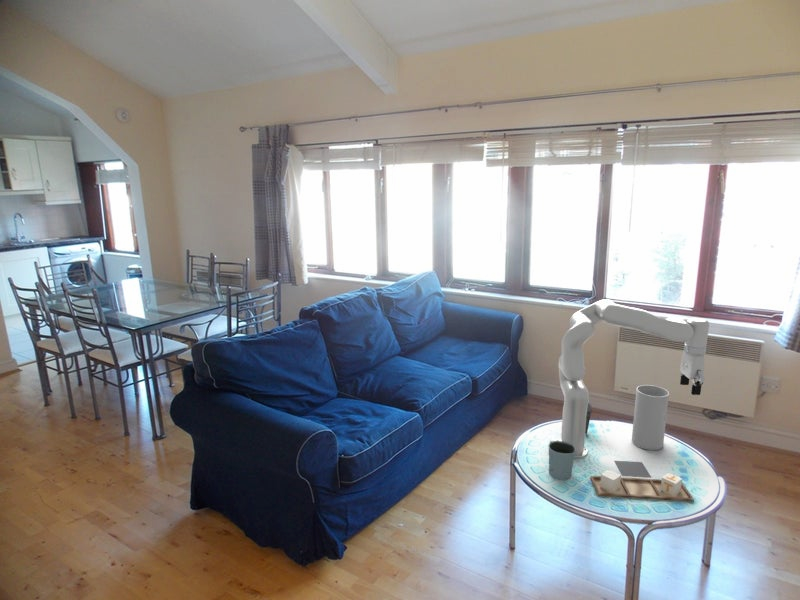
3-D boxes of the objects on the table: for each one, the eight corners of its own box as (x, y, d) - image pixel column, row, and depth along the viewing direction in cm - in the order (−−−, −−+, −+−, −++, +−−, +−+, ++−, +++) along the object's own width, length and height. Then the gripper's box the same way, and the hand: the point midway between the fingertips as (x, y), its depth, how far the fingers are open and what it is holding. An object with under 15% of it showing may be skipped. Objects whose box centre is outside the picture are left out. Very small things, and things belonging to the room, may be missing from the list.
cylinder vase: (646, 452, 213) (651, 398, 207) (625, 438, 224) (630, 387, 218) (669, 448, 216) (676, 394, 210) (648, 434, 228) (653, 383, 222)
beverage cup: (585, 437, 226) (588, 396, 222) (570, 431, 232) (573, 391, 227) (593, 432, 231) (596, 391, 226) (578, 426, 236) (581, 387, 232)
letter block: (680, 491, 185) (682, 478, 184) (674, 497, 182) (675, 483, 181) (666, 485, 189) (668, 472, 188) (660, 490, 186) (661, 477, 185)
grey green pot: (541, 471, 201) (543, 444, 198) (559, 464, 205) (561, 438, 203) (561, 484, 192) (562, 456, 189) (579, 476, 197) (581, 449, 194)
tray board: (597, 497, 184) (598, 493, 184) (590, 478, 195) (590, 475, 195) (693, 502, 180) (694, 499, 179) (680, 483, 191) (680, 480, 190)
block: (619, 488, 188) (620, 475, 187) (612, 493, 185) (613, 480, 184) (607, 482, 192) (608, 469, 191) (600, 487, 189) (601, 474, 188)
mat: (621, 476, 196) (622, 475, 196) (613, 461, 207) (614, 460, 206) (651, 478, 195) (651, 477, 194) (641, 462, 205) (642, 462, 205)
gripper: (675, 342, 206) (670, 381, 210) (695, 356, 189) (690, 398, 193) (694, 342, 205) (689, 381, 209) (716, 357, 189) (710, 398, 193)
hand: (689, 389), depth 201 cm, fingers open, 9 cm apart
